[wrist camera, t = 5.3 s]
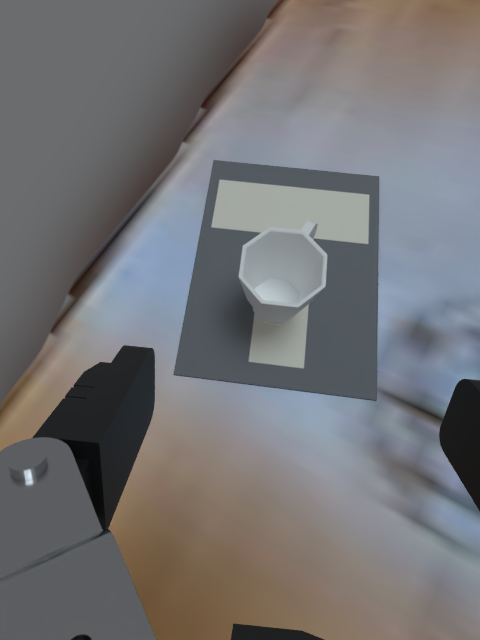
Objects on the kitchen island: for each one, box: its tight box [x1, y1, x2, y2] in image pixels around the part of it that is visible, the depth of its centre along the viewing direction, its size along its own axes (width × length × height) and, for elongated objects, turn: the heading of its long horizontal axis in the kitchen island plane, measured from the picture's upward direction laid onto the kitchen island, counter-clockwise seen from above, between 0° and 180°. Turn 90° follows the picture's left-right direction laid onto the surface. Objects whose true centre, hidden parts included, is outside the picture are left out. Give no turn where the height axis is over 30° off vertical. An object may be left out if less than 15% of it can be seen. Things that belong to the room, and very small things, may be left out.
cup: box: [239, 220, 327, 326], centre depth 33 cm, size 7×10×8 cm
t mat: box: [174, 160, 379, 400], centre depth 38 cm, size 24×18×1 cm
